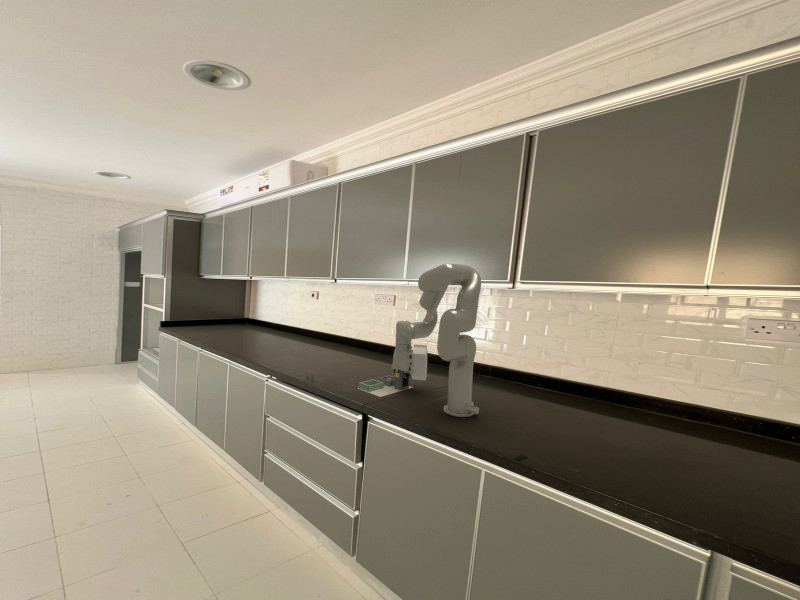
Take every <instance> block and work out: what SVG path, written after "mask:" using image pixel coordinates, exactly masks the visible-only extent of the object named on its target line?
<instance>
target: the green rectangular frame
mask: <svg viewBox="0 0 800 600" xmlns="http://www.w3.org/2000/svg"><path fill="white" fill-rule="evenodd" d="M358 388H360V389H362V390H361V391H363V390H365V391H368V392H371V391H375V390H378V389H382V388H384V382H381V381H378V379H375V378H372V379H369V380H364V381H360V382H358ZM360 389H359V390H360ZM365 391H364V392H365ZM368 392H367V393H368Z"/></svg>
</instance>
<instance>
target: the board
mask: <svg viewBox="0 0 800 600" xmlns="http://www.w3.org/2000/svg"><path fill="white" fill-rule="evenodd" d="M377 380H378V381H381V382H384V388H382V389H378V390H375V391H371V392H368V391H365V390H362V389H360V388H359V387H357V389H358V390H360V391H363V392H365V393H368V394H371V395H373V396H377V397H379V398H382V397H384V396H389V395H392V394H396V393H400V392H402V391H406V390H409V389H412V388H413V386H411V385H409V388H407V389H404V390H398V389H395V388H394V386H395V376H393V375H390V374H389V375H385V376H381V377H378V378H377Z"/></svg>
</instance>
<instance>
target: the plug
mask: <svg viewBox="0 0 800 600" xmlns="http://www.w3.org/2000/svg"><path fill="white" fill-rule="evenodd" d="M409 372H410V371H409ZM406 375H407V373H406ZM394 377H395V386H394V388H395V389H398V390H402V391H405V390H404V389H406V390H408V389H407V388H409V386H410V377H409V378H408V386H405V387H404V386H403V378H404V372H403V371H397V372H395V373H394ZM409 389H410V388H409Z"/></svg>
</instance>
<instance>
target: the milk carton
mask: <svg viewBox="0 0 800 600" xmlns="http://www.w3.org/2000/svg"><path fill="white" fill-rule="evenodd" d="M428 351H429V350H428V345H425V344H424V345H423V344H413V347H412V352H413V360H414V369H413V371H414V374H412V375H411V380H415V381H423V382H424V381H427V377H428V376H427V373H428V372H427V371H428Z"/></svg>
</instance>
